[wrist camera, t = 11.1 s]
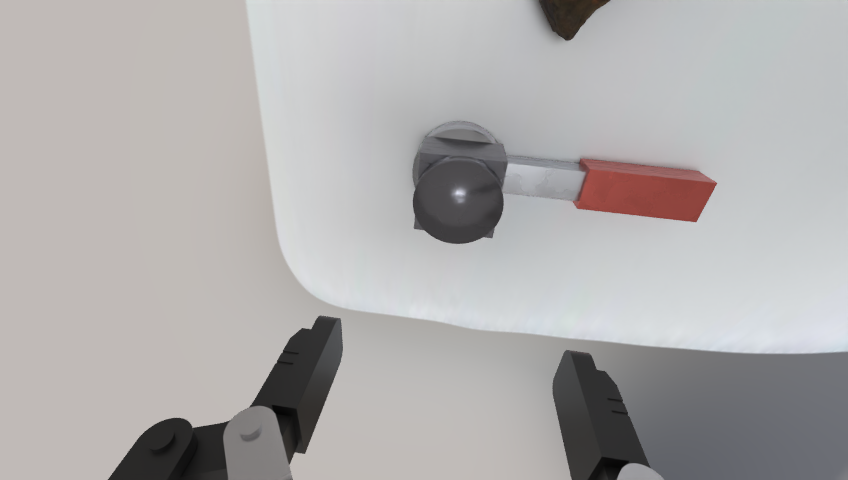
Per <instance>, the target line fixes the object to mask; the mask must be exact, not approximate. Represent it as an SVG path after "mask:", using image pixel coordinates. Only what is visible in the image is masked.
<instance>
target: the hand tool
mask: <svg viewBox="0 0 848 480" xmlns="http://www.w3.org/2000/svg"><path fill="white" fill-rule="evenodd" d="M539 1H540V3H541V6H542V9H543V11H544V13H545V15H546V17H547V19H548V21H549V23H550V25H551V27H552V30H553V31H554V32H556V33H557V34H558V35H559V36H561V37H562V38H564V39H565V40H566V41H568V40H571V39H572V38H573V37H574V36H575V35H576V33H577V32H578V30H579V29H580V27H581V26H582V25H583V24H584V23H585V22H586V20H587V19H588V18H589V17H590V16H591V15H592V14H593V13H594V11H595V10H597V9H598V8H600V7H601V6H603V5H605V4H606V3H607V2H609V1H610V0H539Z"/></svg>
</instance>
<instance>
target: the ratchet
mask: <svg viewBox="0 0 848 480" xmlns="http://www.w3.org/2000/svg"><path fill="white" fill-rule="evenodd" d="M427 136H432V137H441V138H451V139H460V140H469V141H479V142H488V143H497V142H496V140H495V139H494V138H493V136H492V135H491V134H490V133H489V132H488V131H487V130H485V129H484V128H482V127H481V126H478V125H476V124H474V123H470V122H465V121H456V122H450V123H446V124H443V125H441V126H439V127H437V128H436V129H434V130H433V131H431V132H430V133H429V134H428V135H427ZM424 140H425V139H424ZM424 140H423V142H422V144H421V146H420V148H419V150H418V153H417V156H416V158H415V161H414V165H413V181H414V185H415V188H416V186H417V183H418V170H419V157H420V151H421V148H422V145H423V143H424ZM506 157H507V160H508V165H507V170H506V175H505V180H504V184H503V189H502V193H509V194H518V195H527V196H536V197H545V198H554V199H562V200H571V201H573V203H574V204H575V206H576V208H577V209H586V210H594V211H603V212H612V213H621V214H629V215H638V216H647V217H656V218H664V219H673V220H682V221H691V222H697V220H698V218H699V216H700V214H701V212H702V210H703V209H704V207H705V205H706V203H707V201H708V199H709V197H710V196H711V194H712V192H713V190H714V188H715V186H716V184H717V183H716V182H715V181H713V180H712V179H710V178H708V177H707V176H705V175H704V174H702V173H700V172H699V171H693V170H684V169H674V168H665V167H656V166H646V165H637V164H628V163H618V162H609V161H600V160H590V159H581V160H580V163H572V162H562V161H553V160H544V159H535V158H525V157H516V156H507V155H506Z"/></svg>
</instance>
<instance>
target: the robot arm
mask: <svg viewBox="0 0 848 480" xmlns="http://www.w3.org/2000/svg"><path fill="white" fill-rule="evenodd" d="M342 351H343V344H342V329H341V320H340V318H333V317H326V316H319V317H318V318H317V319H316V321H315V323H314V325H313V327H312V329H304V328H302V329H301V330H299V331H298V332H297V333H296V334H295V335H294V336H292V337H291V338H290V340H289V341H288V343H287V345H286V346H285V348H284V350H283V353H282V354H281V355H280V357H279V359H278V360H277V363H276V364H275V365H274V367H273V369H272V371H271V372H270V374H269V376H268V378H267V379H266V381H265V383H264V384H263V386H262V388H261V390H260V392H259V393H258V395H257V397H256V398H255V400H254V402H253V403H252V405H251V406H250V407H249V408H247V409H245V410H243V411H241V412H239V413H238V414H237V415H236V416H234V417H233V419H231V420H230V421H227V422H224V423H220V424H214V425H208V426H202V427H196V428H192V426H191V424H190V423H189V422H188V421H187V420H185V419H181V418H171V419H167V420H164V421H161V422H159V423H157V424H155V425H154V426H152V427H151V428H149V429H148V430H146V431H145V432H144V433H143V434H142V435H141V436H140V437H139V439H138V440H137V441H136V442H135V444H134V445H133V447H132V448H131V449H130V451H129V452H128V453H127V455H126V456H125V457H124V459H123V460H122V461H121V463H120V464H119V465H118V467H117V468H116V470H115V471H114V472H113V473H112V475H111V476H110V478H109V479H108V480H293V479H292V475H291V471H290V467H289V464H290V462H291V460H292V458H293V455H294V453H295V452H297V453H303V454H305V452H306V450H307V447H308V445H309V442H310V439H311V437H312V434H313V432H314V429H315V426H316V424H317V421H318V419H319V416H320V414H321V411H322V409H323V406H324V403H325V401H326V398H327V395H328V393H329V391H330V388H331V385H332V383H333V380H334V378H335V375H336V372H337V370H338V367H339V365H340V362H341V357H342ZM553 397H554V402H555V406H556V410H557V415H558V420H559V424H560V429H561V433H562V438H563V442H564V447H565V451H566V456H567V460H568V465H569V469H570V474H571V478H572V480H664V479H663V478H662V477H661V476H660V475H659V474H658V473H656V472H655V471H654V470H652V469H651V468H650V466H649V464H648V461H647V459H646V457H645V454H644V452H643V449H642V447H641V444H640V442H639V439H638V437H637V434H636V432H635V429H634V427H633V424H632V422H631V420H630V417H629V416H628V412H627V410H626V407H625V405H624V404H623V402H622V401H623V400H622V397H621V395H620V392H619V390H618V388H617V385H616V384H615V383H614V381H613V380H612V379H611V378H610V377H609V375H608V374H607V373H606V372H605V371H599V370H597V369H596V367H595V364H594V361H593V359H592V356H591V355H590V354H589V353H584V352H577V351H569V350H566V351H565V352H564V354H563V357H562V359H561V362H560V364H559V367H558V369H557V372H556V374H555V377H554V380H553Z"/></svg>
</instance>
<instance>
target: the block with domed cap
mask: <svg viewBox="0 0 848 480" xmlns="http://www.w3.org/2000/svg"><path fill="white" fill-rule="evenodd" d="M507 165H508V160H507V157H506V153H505V150H504V146H503V144H497V143H488V142H479V141H469V140H460V139H451V138H441V137H432V136H426V137H425V140H424V143H423V145H422V148H421V151H420V157H419V170H418V183H417V186H416V189H415V192H414V197H413V208H414V213H415V224H414V229H420V230H425V231H426V232H427V233H428V234H430V235H431V236H433V237H434V238H436V239H438V240H441V241H444V242H447V243H454V244H463V243H469V242H473V241H476V240H478V239H480V238H482V237H487V238H492V237H493V233H494V228H495V226H496V225H497V223H498V221H499V220H500V217H501V215H502V211H503V205H504V204H503V194H502V189H503V184H504V180H505V175H506V170H507Z"/></svg>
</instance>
